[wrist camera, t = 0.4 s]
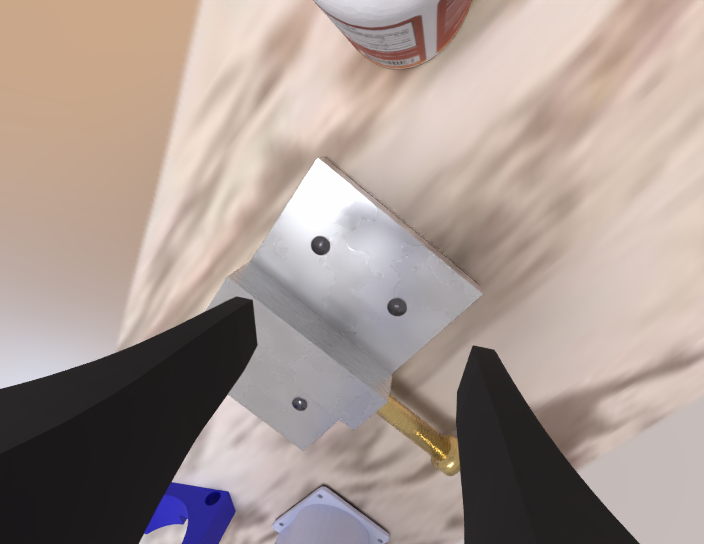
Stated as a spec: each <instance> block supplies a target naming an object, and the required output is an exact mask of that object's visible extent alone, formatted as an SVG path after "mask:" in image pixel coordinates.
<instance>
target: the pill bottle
mask: <svg viewBox="0 0 704 544" xmlns="http://www.w3.org/2000/svg"><path fill="white" fill-rule="evenodd" d="M313 1H314V2H315V3H316V4H317V5H318V7H320V8H321V10H322V11H323V12H324V13H325V14H326V15H327V16H328V18H329V19H330V20H331V21H332V22H333V23H334V24H335V25H336V26H337V28H338V29H339V30H340V31H341V32H342V33H343V34H344V35H345V37H346V38H347V39H348V40H349V41H350V42H351V43H352V45H353V46H354V47H355V48H356V49H357V50H358V51H359V52H360V53H361V54H362V55H363V56H364V57H366V58H367V59H368V60H370V61H371V62H373V63H375V64H377V65H379V66H382V67H386V68H391V69H406V68H411V67H415V66H417V65H420V64H422V63H424V62H426V61H428V60H430V59H431V58H433V57H434V56H436V55H437V54H438V53H439V52H440V51H442V50H443V49H444V48H445V47H446V46H447V45H448V43H449V42H450V41H451V40H452V39H453V37H454V36H455V34H456V33H457V31H458V30H459V28H460V26H461V25H462V23H463V21H464V19H465V17H466V15H467V12H468V10H469V7H470V5H471V2H472V0H313Z"/></svg>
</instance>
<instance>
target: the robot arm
mask: <svg viewBox="0 0 704 544" xmlns="http://www.w3.org/2000/svg"><path fill="white" fill-rule="evenodd" d="M257 346H258V344H257V334H256V325H255V315H254V306H253V300H252V299H247V298H242V297H237V296H236V297H234V298H232V299H229V300H227V301H225V302H223V303H221V304H219V305H217V306H215V307H213V308H211V309H209V310H207V311H205V312H204V313H202V314H200V315H198V316H196V317H194V318H192V319H190V320H188V321H186V322H184V323H182V324H180V325H178V326H176V327H174V328H171V329H169V330H167V331H165V332H163V333H161V334H158V335H156V336H154V337H152V338H150V339H148V340H145V341H143V342H141V343H139V344H136V345H134V346H132V347H129V348H127V349H124V350H122V351H119V352H117V353H114V354H111V355H109V356H106V357H104V358H101V359H98V360H96V361H93V362H90V363H87V364H84V365H81V366H77V367H74V368H71V369H69V370H65V371H62V372H59V373H56V374H53V375H50V376H46V377H43V378H39V379H36V380H32V381H29V382H25V383H22V384H18V385H14V386H10V387H7V388H3V389H0V544H139V542H140V540H141V538H142V536H143V534H144V532H145V530H146V528H147V527H148V525H149V523H150V521H151V519H152V517H153V515H154V513H155V511H156V509H157V507H158V505H159V503H160V502H161V500H162V498H163V496H164V494H165V493H166V491H167V489H168V487H169V485H170V483H171V482H172V480H173V478H174V476H175V474H176V473H177V471H178V469H179V467H180V466H181V464H182V462H183V461H184V459H185V457H186V455H187V454H188V452H189V450H190V449H191V447H192V445H193V443H194V442H195V440H196V439H197V437H198V436H199V434H200V433H201V431H202V430H203V428H204V427H205V425H206V424H207V423H208V421H209V420H210V418H211V417H212V416H213V414H214V413H215V411H216V410H217V409H218V407H219V406H220V404H221V403H222V402H223V400H224V399H225V397H226V396H227V395H228V393H229V392H230V390H231V389H232V388H233V386H234V385H235V383H236V382H237V380H238V379H239V378H240V376H241V375H242V373H243V372H244V370H245V368H246V367H247V365H248V363H249V361H250V359H251V357H252V355H253V353H254V351H255V350H256V348H257ZM456 427H457V439H458V451H459V462H460V473H461V484H462V495H463V507H464V544H639V543H638V542H637V540H636V539H635V538H634V537H633V536H632V535H631V534H630V533H629V532H628V531H627V530H626V529H625V527H624V526H623V525H622V524H621V523H620V522H619V521H618V520H617V519H616V518H615V516H614V515H613V514H612V513H611V512H610V511H609V510H608V509H607V507H606V506H605V505H604V504H603V503H602V502H601V501H600V499H599V498H598V497H597V496H596V495H595V494H594V492H593V491H592V490H591V489H590V488H589V486H588V485H587V484H586V483H585V482H584V480H583V479H582V478H581V477H580V476H579V474H578V473H577V472H576V471H575V469H574V468H573V467H572V466H571V465H570V463H569V462H568V461H567V459H566V458H565V457H564V455H563V454H562V453H561V451H560V450H559V449H558V447H557V446H556V445H555V443H554V442H553V441H552V439H551V438H550V436H549V435H548V434H547V432H546V431H545V429H544V428H543V427H542V425H541V424H540V422H539V421H538V419H537V418H536V416H535V415H534V413H533V412H532V410H531V409H530V407H529V406H528V404H527V403H526V401H525V400H524V398H523V396H522V395H521V393H520V392H519V390H518V388H517V387H516V385H515V384H514V382H513V380H512V379H511V377H510V375H509V374H508V372H507V370H506V369H505V367H504V365H503V363H502V362H501V360H500V358H499V357H498V355H497V353H496V352H495V350H493V349H488V348H483V347H478V346H472V349H471V352H470V355H469V358H468V361H467V364H466V367H465V370H464V373H463V376H462V379H461V382H460V385H459V388H458V391H457V413H456ZM272 527H273V529H274V530H275V531H277V532H278V533H279V534H278V537H277V540H276V542H275V544H385V543H386V542H388V541H389V534H388V533H387V532H386V531H384V530H383V529H382V528H380V527H379V526H378V525H376V524H375V523H374V522H372V521H371V520H370V519H368V518H367V517H366V516H364V515H363V514H362V513H360V512H359V511H358V510H356V509H355V508H354V507H352V506H351V505H350V504H348V503H347V502H346V501H344V500H343V499H342V498H340V497H339V496H338V495H336V494H335V493H334V492H332V491H331V490H330V489H328V488H327V487H324V486H322V487H320V488H318V489H317V490H316V491H314V492H313V493H312V494H310V495H309V496H308V497H306V498H305V499H304V500H302V501H301V502H300V503H298V504H297V505H296V506H294V507H293V508H292V509H290V510H289V511H288V512H286V513H285V514H284V515H282V516H281V517H280V518H278V519H277V520H276V521H274V523H273V525H272Z"/></svg>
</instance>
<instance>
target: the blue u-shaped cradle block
mask: <svg viewBox="0 0 704 544" xmlns="http://www.w3.org/2000/svg"><path fill="white" fill-rule="evenodd" d="M234 514H235V509H234V506H233V503H232V500H231V497H230V494H229V492H227V491H221V490H215V489H209V488H202V487H196V486H190V485H184V484H178V483H172V482H171V483H170V485H169V487H168V489H167V491H166V493H165V494H164V496H163V498H162V500H161V502H160V503H159V505H158V507H157V509H156V511H155V513H154V515H153V517H152V519H151V521H150V523H149V525H148V527H147V528H146V530H145V532H144V534H148V533H150V532H152V531H154V530H156V529H158V528H161V527H163V526H167V525H172V524H184V523H185V521H186V519H188V526H187V531H186V534H185V537H184V540H183V542H182V544H219V542H220V540H221V538H222V536H223V534H224V532H225V530H226V529H227V527H228V525H229V523H230V521H231V519H232V517H233V515H234Z"/></svg>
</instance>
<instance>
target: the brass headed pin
mask: <svg viewBox="0 0 704 544" xmlns="http://www.w3.org/2000/svg"><path fill="white" fill-rule="evenodd" d="M375 413H377V414H378V415H379V416H381V417H382V418H383V419H384V420H386V421H387V422H388V423H390V424H391V425H392V426H393V427H395V428H396V429H397V430H399V431H400V432H401V433H402V434H404V435H405V436H406V437H408V438H409V439H410V440H412V441H413V442H414V443H415V444H417V445H418V446H419V447H421V448H422V449H423V450H424V451H426V452H427V453H428V454H430V455H431V461H432V464H433V465H434V466H435V467H436V468H438V469H439V470H440V471H441V472H443V473H444V474H445V475H447V476H453V475H455V474H457V473H458V472H459V471H460V462H459V451H458V440H457V439H456V438H455V437H453V436H452V435H450V434H446V435H444V436H442V435H441V434H440V433H439V432H437V431H436V430H435V429H433V428H432V427H431V426H430V425H428V424H427V423H426V422H424V421H423V420H422V419H421V418H419V417H418V416H417V415H415V414H414V413H413V412H412V411H410V410H409V409H408V408H407V407H405V406H404V405H403V404H401V403H400V402H399V401H398V400H396V399H395V398H394V397H392V396H391V395H390V394H389V399H388V402H387V403H386V404H385V405H384V406H382V407H381V408H380V409H379V410H378V411H376V412H375Z"/></svg>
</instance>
